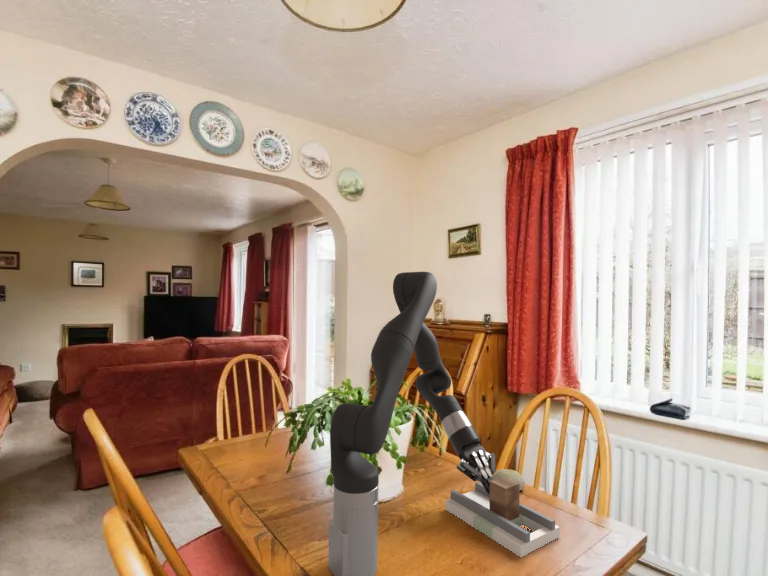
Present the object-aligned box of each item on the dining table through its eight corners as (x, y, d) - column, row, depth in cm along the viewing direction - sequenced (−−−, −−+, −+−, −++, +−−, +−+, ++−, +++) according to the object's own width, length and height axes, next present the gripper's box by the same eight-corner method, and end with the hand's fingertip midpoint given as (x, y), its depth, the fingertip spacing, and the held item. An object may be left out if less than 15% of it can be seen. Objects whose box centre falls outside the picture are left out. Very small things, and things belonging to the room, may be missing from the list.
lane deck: (520, 557, 89) (521, 536, 89) (445, 509, 109) (445, 492, 109) (559, 537, 97) (559, 518, 97) (482, 496, 117) (482, 480, 117)
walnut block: (505, 522, 99) (505, 488, 99) (489, 513, 103) (489, 480, 103) (519, 516, 101) (519, 483, 102) (503, 508, 105) (503, 476, 106)
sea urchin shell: (494, 471, 130) (512, 456, 127) (512, 493, 127) (531, 479, 124) (485, 481, 122) (504, 466, 119) (504, 506, 119) (524, 491, 116)
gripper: (449, 428, 109) (484, 494, 99) (484, 421, 117) (520, 481, 106) (435, 443, 114) (467, 507, 103) (470, 434, 121) (503, 494, 110)
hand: (494, 494), depth 105 cm, fingers closed
